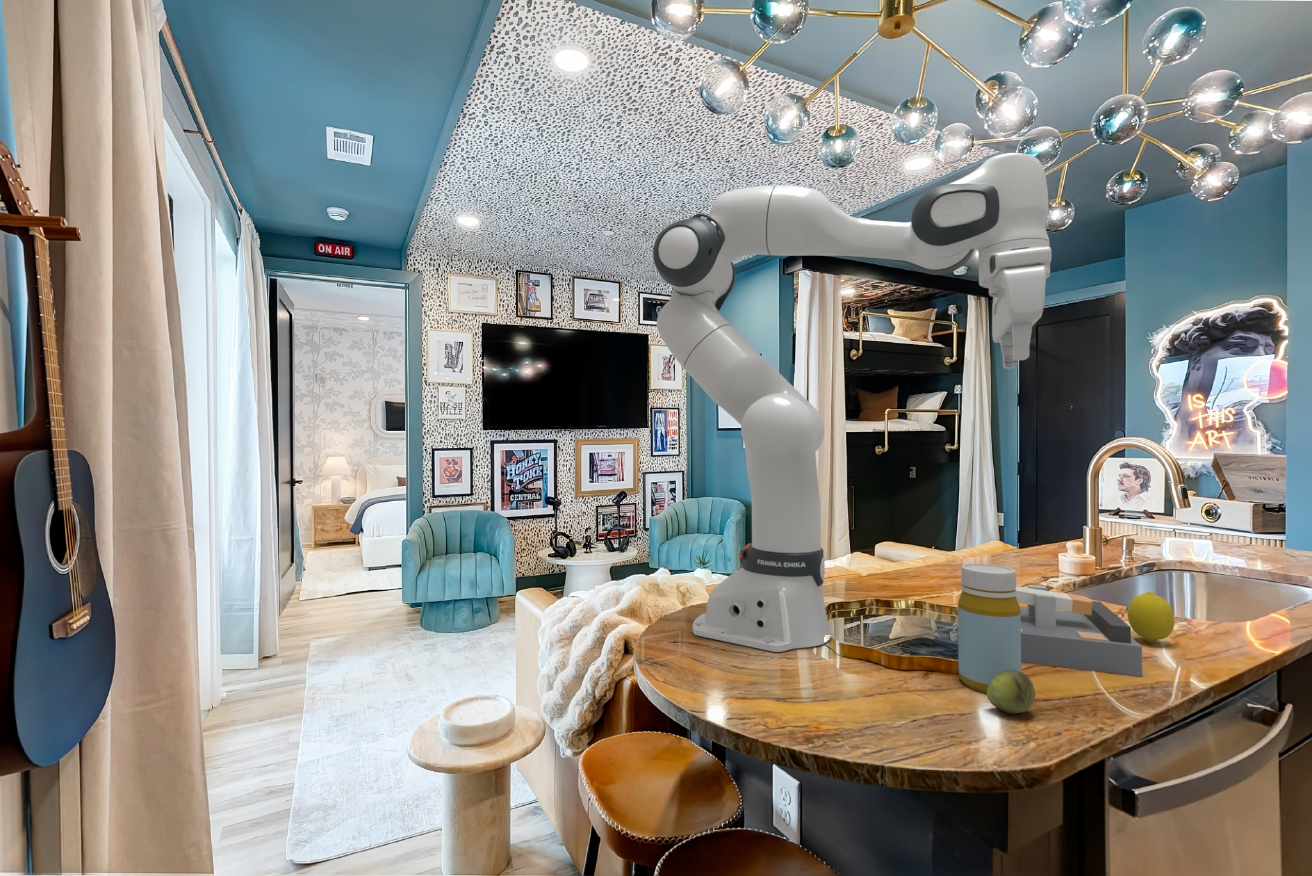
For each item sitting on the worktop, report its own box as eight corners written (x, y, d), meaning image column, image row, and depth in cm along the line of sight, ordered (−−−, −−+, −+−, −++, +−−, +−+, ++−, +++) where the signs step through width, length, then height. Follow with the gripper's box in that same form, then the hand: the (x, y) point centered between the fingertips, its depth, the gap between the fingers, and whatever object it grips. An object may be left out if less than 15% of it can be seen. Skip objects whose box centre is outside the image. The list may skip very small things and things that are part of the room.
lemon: (1182, 651, 88) (1181, 597, 88) (1137, 646, 89) (1136, 594, 90) (1163, 639, 93) (1163, 588, 93) (1121, 635, 95) (1121, 586, 95)
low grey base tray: (972, 655, 86) (971, 596, 86) (963, 624, 101) (963, 574, 101) (1142, 676, 78) (1141, 612, 78) (1105, 639, 93) (1105, 585, 93)
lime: (982, 711, 68) (982, 668, 68) (1000, 700, 71) (1000, 659, 71) (1025, 726, 64) (1025, 680, 64) (1042, 713, 67) (1041, 670, 67)
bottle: (1030, 698, 71) (1029, 575, 72) (968, 693, 73) (967, 573, 73) (1008, 676, 78) (1007, 564, 78) (952, 672, 80) (951, 562, 80)
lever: (997, 600, 90) (998, 587, 90) (993, 593, 94) (994, 582, 94) (1091, 615, 85) (1093, 602, 85) (1084, 608, 89) (1085, 596, 89)
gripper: (981, 289, 96) (982, 373, 96) (997, 251, 77) (999, 356, 77) (1026, 284, 93) (1028, 370, 93) (1054, 244, 75) (1057, 352, 74)
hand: (1015, 364), depth 85 cm, fingers open, 8 cm apart
